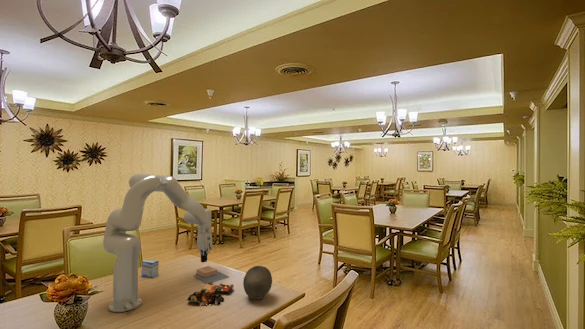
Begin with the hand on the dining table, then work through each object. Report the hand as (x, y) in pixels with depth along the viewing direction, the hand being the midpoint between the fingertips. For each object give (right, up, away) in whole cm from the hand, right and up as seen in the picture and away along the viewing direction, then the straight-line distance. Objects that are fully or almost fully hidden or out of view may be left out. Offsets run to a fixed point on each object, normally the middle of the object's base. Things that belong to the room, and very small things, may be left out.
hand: (203, 261), depth 171 cm
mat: (+6, -7, -6) cm, 10 cm away
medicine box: (-28, -6, -6) cm, 30 cm away
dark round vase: (+35, -7, -32) cm, 48 cm away
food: (+12, -7, -29) cm, 33 cm away
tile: (-1, -5, +1) cm, 5 cm away
